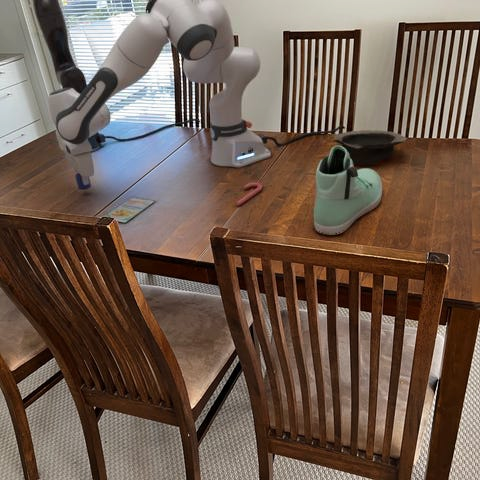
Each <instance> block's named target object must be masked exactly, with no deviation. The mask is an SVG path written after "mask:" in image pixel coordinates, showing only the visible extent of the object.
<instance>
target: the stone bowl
mask: <svg viewBox="0 0 480 480" xmlns="http://www.w3.org/2000/svg"><path fill="white" fill-rule="evenodd" d="M332 141H333V142H335V143H337V144H340V145H341V146H342V147H344V148H345V149H346V150H347V152H348V153H349V156H350V159H352V161H353V165H355V166H357V165H360V166H369V165H377V164H380V163H381V162H382V160H391V159H392V158H393V156H394V151H395V146H397V145H400V144H403V143H404V142H406V141H407V137H405V136H404V135H402V134H400V133H397V132H393V131H387V130H386V131H385V130H352V131H351V130H350V131H345V132H342V133H337V134H336V135H334V136H333V140H332Z"/></svg>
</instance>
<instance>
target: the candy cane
mask: <svg viewBox="0 0 480 480" xmlns="http://www.w3.org/2000/svg"><path fill="white" fill-rule="evenodd" d="M249 188H255V189H253V190H252V191H250V192H249V193H247V194H246V195H244V196H243V197H241V199H239V200H237V201H236V203H235V205H236V206H238V207H239V206H241V205H242V204H244V203H245V202H247V201H248V200H250V199H251V198H252V197H253V196H255V195H257V194H258V193H260V192H261V191H262V190H263V184H261V183H259V182H255V181H253V182H248V183H246V184H244V186H243V189H244V190H248V189H249Z"/></svg>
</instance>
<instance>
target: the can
mask: <svg viewBox="0 0 480 480" xmlns="http://www.w3.org/2000/svg"><path fill="white" fill-rule="evenodd" d="M74 177H75V181H76V185H77V188H78V190H80V191H86V190H88V189H91V187H92V184H91V180H90V177H88V180H89V184H87V185H84V184H83V183H82V177H81V175H80V174H79V173H78V174H76V173H75V176H74Z"/></svg>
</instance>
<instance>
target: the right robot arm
mask: <svg viewBox="0 0 480 480" xmlns="http://www.w3.org/2000/svg"><path fill="white" fill-rule="evenodd" d="M169 43H171V44H172V45H173V46H174V48H175V49H176V51H177V53H178V54H179V55H180V56H181V57H182V58H183V64H182V68H183V73H184V75H185V77H186V78H187V79H188V81H190V82H191V83H197V84H203V85H205V84H207V85H208V84H221V83H223V84H225V87H224V88H223V89H222V90H221V91H219V92H217V93H216V94H214V95H213V96H212V97H211V98H210V99H209V103H208V106H209V116H210V123H209V127H210V128H209V130H210V131H209V132H210V138H211V146H212V147H211V156H210V162H211V164H212V165H215V166H219V167H232V168H242V167H246V166H249V165H251V164H254V163H257V162H261V161H264V160H265V159H268V158H271V156H272V154H271V151H270V150H269V148H267V147H265V145H266V144H268V140H271V141H273V143H274V144H275V145H276V146H278V147H282V146H285V145H288V144H290V143H292V142H294V141H297V140H299V139H302V138H305V137H308V136H313V135H325V134H333V133H336V132H338V131H339V130H340V129H342V130H345V129H346V127H345V126H344V125H342V124H341V125H339V126H337V127H336V128H334V129H330V130H321V131H311V132H305V133H302V134H300V135H298V136H295V137H293V138H290V139H288V140H287V141H285V142H282V143H281V142H280V143H279V142H278V141H277V139H276V138H275V137H273V136H268V135H267V136H266V135H264V134H262V133H258V134H256V132H253V131H252V130H250V129H251V128H252V127H253V123H252V122H250V121H248V120H245V119H244V118H243V115H242V105H243V104H242V101H243V96H244V92H245V91H246V88H247V87H248V86H249V84H250V83H251V82H252V81H253V80H254V79H255V78H256V77H257V76H258V74H259V72H260V70H261V58H260V55H259V53H258V52H257V50H256V49H254V48H252V47H247V46H235V38H234V31H233V25H232V22H231V18H230V16H229V13H228V11H227V8H226V7H225V5H224V4H223V3H222V2H221V1H219V0H201V1H200V2H199V3H198V4H197V5H196V4H195V3H194V1H193V0H148V1H147V4H146V6H145V12H142V13H139V14H138V15H137V16H136V17H135V18H134V19H132V20H131V22H129V24H128V25H127V26H126V27H125V28H124V30H123V31H122V32H121V33H120V35H119V37H118V38H117V39H116V40H115V42H114V44H113V46H112V47H111V49H110V51H109V53H108V54H107V55H106V58H105V59H104V61H103V62H102V63H101V65H100V66H99V68H98V69H97V71H96V73H95V74H94V76H93V77H92V78H91V80H90V81H89V82H88V83H87V86H86V88H85V89H84V90H83V92H82V93H81V94H79V93H77V92H76V91H75V90H74V89H73V88H69V87H67V88H62V87H61V88H60V89H57V90H54V91H52V92H50V93H49V94H48V97H47V98H48V99H47V101H48V110H49V113H50V117H51V121H52V123H53V125H54V127H55V136H56V139H57V143H58V146H59V150H61V151H63V153H64V157H65V160H66V162H67V163H68V164H69V165H70V166H71V167H72V168H73V170H74V171H75V175H76V174H78V173H79V174H80V175H81V177H82V183H83V184H84V185H87V184H89V180H88V177H89V178H90V177H92V176H94V175H95V166H94V161H93V156H92V152H90V151H92V148H91V145H90V143H89V141H88V138H89V137H91V136H92V135H94V134H96V133H97V132H98V133H100V132H101V131H102V130H103V129H105V128H106V127H107V126H109V124H110V123H111V119H112V118H111V111H110V109H109V107H108V105H107V104H106V103H107V102H108V101H109V100H110V99H111V98H113V97H114V96H115V95H117V94H119V93H120V92H122V91H123V90H125V89H127V88H129V87H131V86H133V85H134V84H136V83H138V82H139V81H140V80H142V78H143V77H144V76H146V75H147V73H148V72H149V71H150V70H151V68H153V66H154V65H155V63H156V61H157V60H158V58H159V57H160V55H161V53H162V52H163V50H164V47H165V46H166V45H167V44H169Z"/></svg>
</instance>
